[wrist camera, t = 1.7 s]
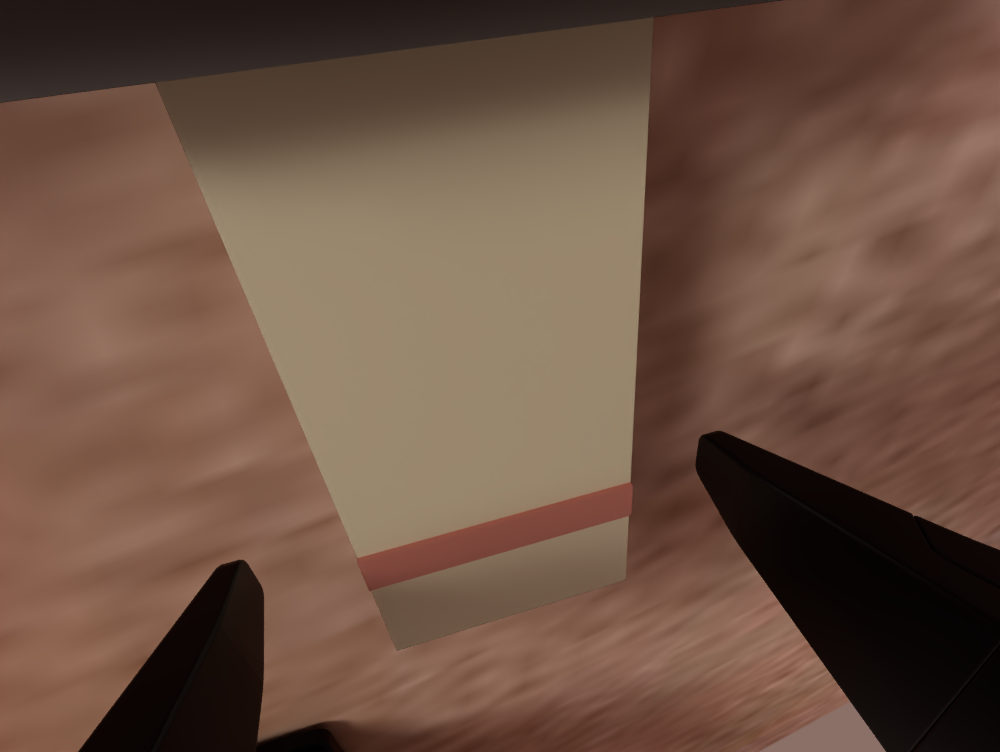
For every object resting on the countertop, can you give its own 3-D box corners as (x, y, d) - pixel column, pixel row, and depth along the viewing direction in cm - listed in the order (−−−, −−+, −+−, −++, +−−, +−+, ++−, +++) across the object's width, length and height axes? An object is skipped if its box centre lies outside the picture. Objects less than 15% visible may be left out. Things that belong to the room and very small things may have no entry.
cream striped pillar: (567, 471, 14) (627, 584, 11) (386, 520, 13) (397, 655, 10) (528, -370, 6) (702, -780, 3) (74, -368, 5) (-276, -913, 2)
